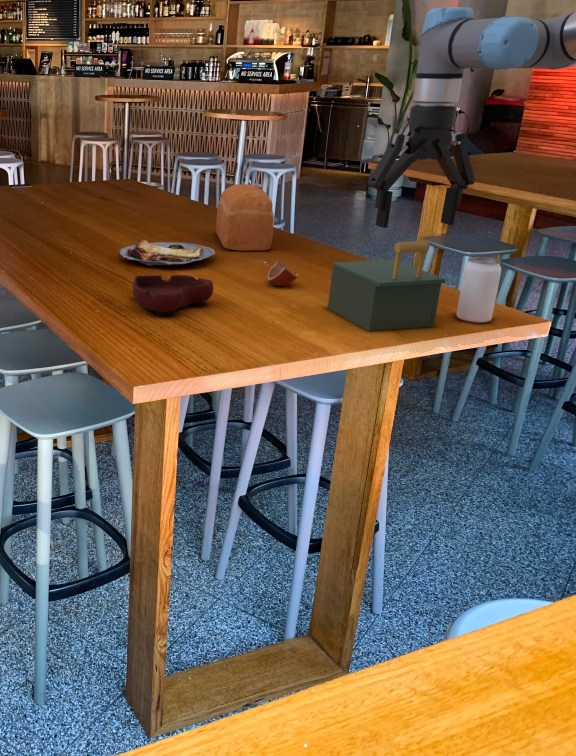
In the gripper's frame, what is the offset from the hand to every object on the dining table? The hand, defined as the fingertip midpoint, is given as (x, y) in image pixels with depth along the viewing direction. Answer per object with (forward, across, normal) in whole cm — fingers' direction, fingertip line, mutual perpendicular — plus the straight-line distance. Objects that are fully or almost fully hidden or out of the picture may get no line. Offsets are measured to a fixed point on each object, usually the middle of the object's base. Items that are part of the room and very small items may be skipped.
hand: (414, 225), depth 147 cm
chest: (+20, 0, -7) cm, 21 cm away
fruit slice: (+20, +8, -35) cm, 41 cm away
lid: (+11, 0, -6) cm, 13 cm away
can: (+20, -18, -2) cm, 27 cm away
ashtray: (+20, +40, -25) cm, 51 cm away
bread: (+20, -3, -83) cm, 85 cm away
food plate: (+20, +26, -66) cm, 74 cm away
